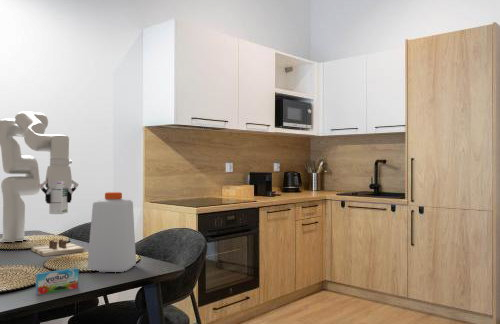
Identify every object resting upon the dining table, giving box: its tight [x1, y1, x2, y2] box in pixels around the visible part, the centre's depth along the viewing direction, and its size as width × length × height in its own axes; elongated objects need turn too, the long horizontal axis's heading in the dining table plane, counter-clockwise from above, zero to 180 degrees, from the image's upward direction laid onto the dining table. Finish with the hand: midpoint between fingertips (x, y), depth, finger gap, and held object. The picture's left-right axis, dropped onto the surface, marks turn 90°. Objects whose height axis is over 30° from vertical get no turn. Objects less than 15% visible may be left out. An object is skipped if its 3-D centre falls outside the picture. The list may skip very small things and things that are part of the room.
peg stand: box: [30, 238, 85, 257], centre depth 196 cm, size 17×17×4 cm
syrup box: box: [48, 181, 69, 215], centre depth 197 cm, size 6×6×14 cm
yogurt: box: [35, 267, 80, 296], centre depth 134 cm, size 12×2×6 cm, turn 132°
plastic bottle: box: [86, 191, 137, 274], centre depth 165 cm, size 15×15×28 cm
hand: (58, 202), depth 197 cm, fingers closed on syrup box, 8 cm apart
